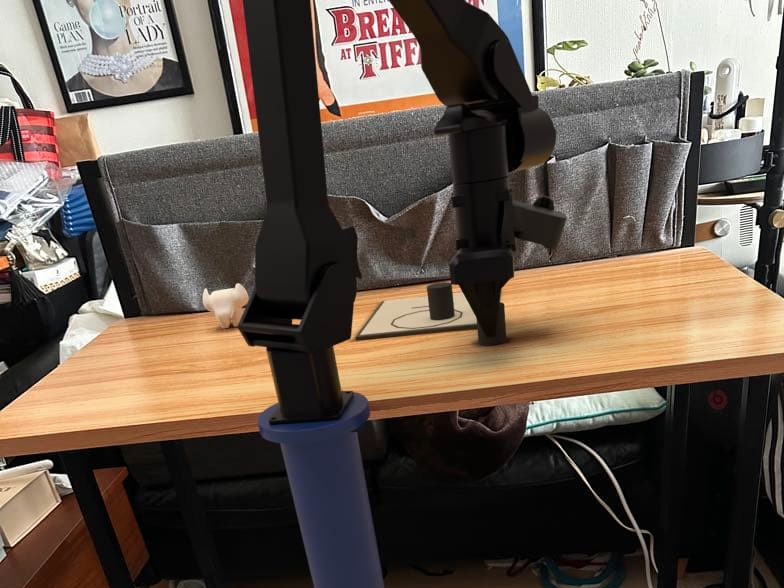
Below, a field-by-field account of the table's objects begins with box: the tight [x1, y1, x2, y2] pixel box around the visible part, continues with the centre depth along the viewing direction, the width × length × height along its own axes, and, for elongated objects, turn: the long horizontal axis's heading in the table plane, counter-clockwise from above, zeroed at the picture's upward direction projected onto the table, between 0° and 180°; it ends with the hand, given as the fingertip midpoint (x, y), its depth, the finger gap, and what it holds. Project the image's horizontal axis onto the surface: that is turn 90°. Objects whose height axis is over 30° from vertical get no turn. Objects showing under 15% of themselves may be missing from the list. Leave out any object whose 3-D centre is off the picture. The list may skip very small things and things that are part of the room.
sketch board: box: [355, 291, 477, 341], centre depth 98 cm, size 20×17×1 cm
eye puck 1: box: [426, 281, 455, 320], centre depth 92 cm, size 3×3×4 cm
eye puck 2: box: [476, 301, 508, 346], centre depth 81 cm, size 3×3×4 cm
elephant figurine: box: [202, 283, 250, 329], centre depth 107 cm, size 7×8×6 cm
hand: (491, 332), depth 82 cm, fingers closed on eye puck 2, 3 cm apart
